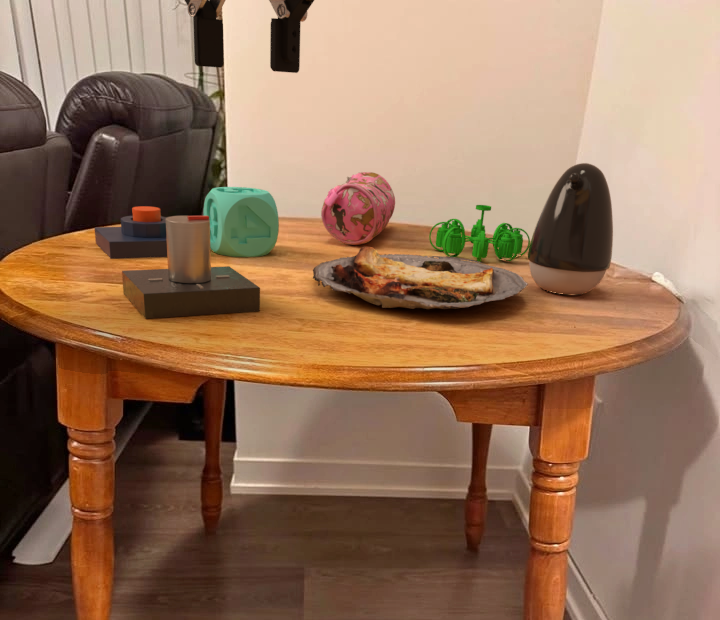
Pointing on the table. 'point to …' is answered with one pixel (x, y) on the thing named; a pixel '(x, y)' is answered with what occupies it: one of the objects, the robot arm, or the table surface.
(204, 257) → the knob
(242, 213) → the decorative dice
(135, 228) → the button box
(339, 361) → the table surface
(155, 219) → the button
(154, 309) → the knob console
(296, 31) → the robot arm
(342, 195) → the pencil case
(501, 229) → the chandelier
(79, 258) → the table surface
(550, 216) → the black egg-shaped diffuser
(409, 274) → the food plate
